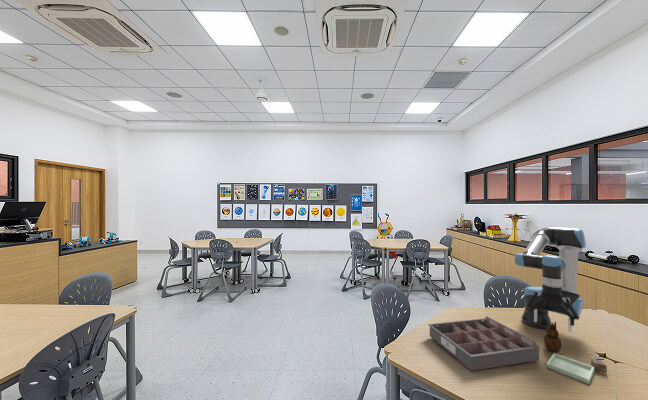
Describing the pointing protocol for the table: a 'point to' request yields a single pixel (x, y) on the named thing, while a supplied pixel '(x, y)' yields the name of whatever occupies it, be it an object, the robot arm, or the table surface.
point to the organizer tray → (484, 343)
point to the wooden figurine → (552, 339)
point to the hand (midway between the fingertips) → (552, 326)
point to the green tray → (571, 368)
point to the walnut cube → (599, 365)
